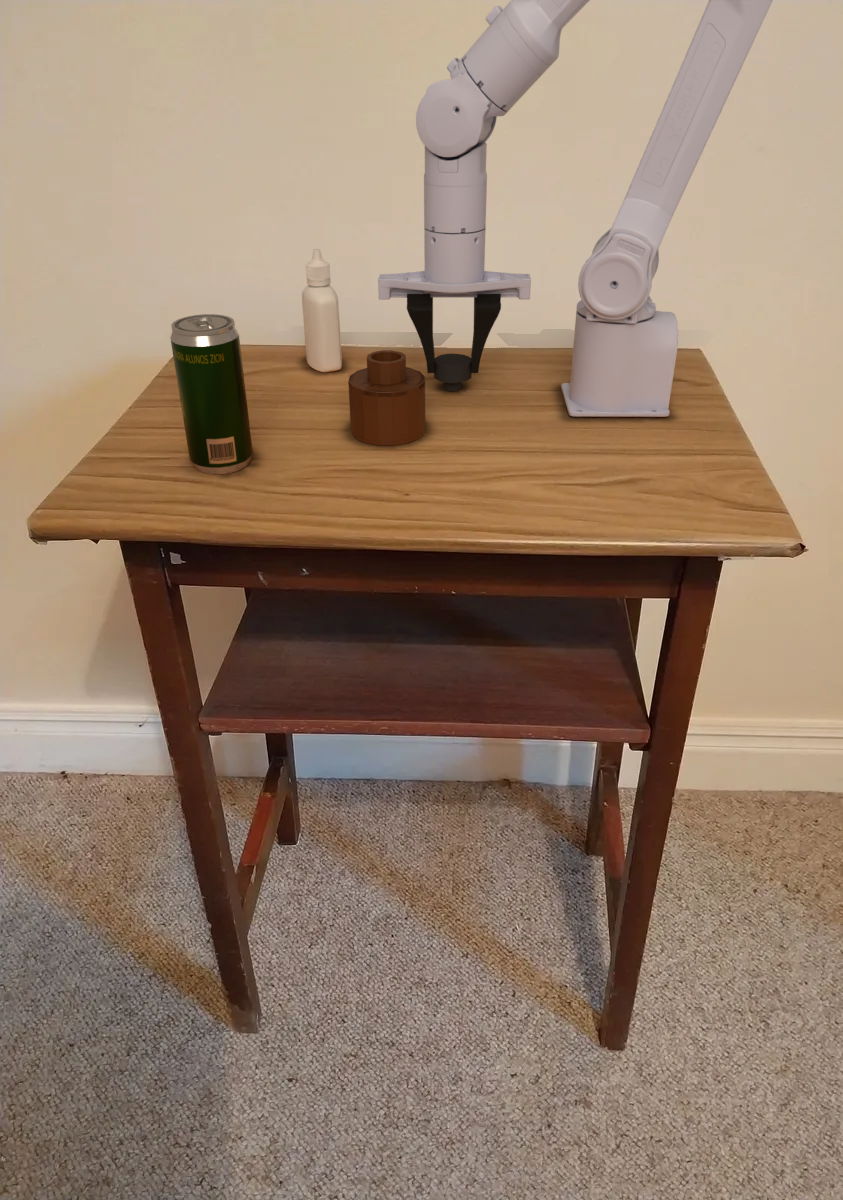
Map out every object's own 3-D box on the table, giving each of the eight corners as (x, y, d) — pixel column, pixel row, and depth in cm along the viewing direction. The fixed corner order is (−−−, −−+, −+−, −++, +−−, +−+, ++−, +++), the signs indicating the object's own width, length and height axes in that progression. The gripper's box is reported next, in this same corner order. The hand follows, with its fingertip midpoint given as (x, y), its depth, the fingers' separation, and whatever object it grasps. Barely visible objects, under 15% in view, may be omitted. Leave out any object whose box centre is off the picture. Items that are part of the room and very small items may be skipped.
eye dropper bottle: (348, 356, 101) (342, 243, 95) (340, 374, 97) (333, 256, 90) (309, 355, 102) (300, 243, 95) (299, 373, 97) (289, 256, 90)
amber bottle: (425, 416, 87) (425, 344, 83) (424, 445, 81) (423, 369, 77) (354, 416, 87) (351, 344, 83) (348, 445, 81) (344, 369, 77)
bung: (470, 381, 94) (471, 353, 93) (471, 395, 91) (472, 365, 90) (434, 381, 94) (434, 353, 93) (433, 394, 91) (433, 365, 90)
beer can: (261, 468, 77) (245, 327, 71) (199, 480, 75) (177, 337, 69) (243, 445, 81) (226, 310, 75) (183, 456, 79) (161, 318, 73)
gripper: (529, 218, 87) (522, 356, 95) (379, 219, 88) (384, 356, 95) (535, 234, 82) (527, 380, 89) (374, 235, 82) (379, 380, 89)
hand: (453, 370), depth 92 cm, fingers closed on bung, 4 cm apart
